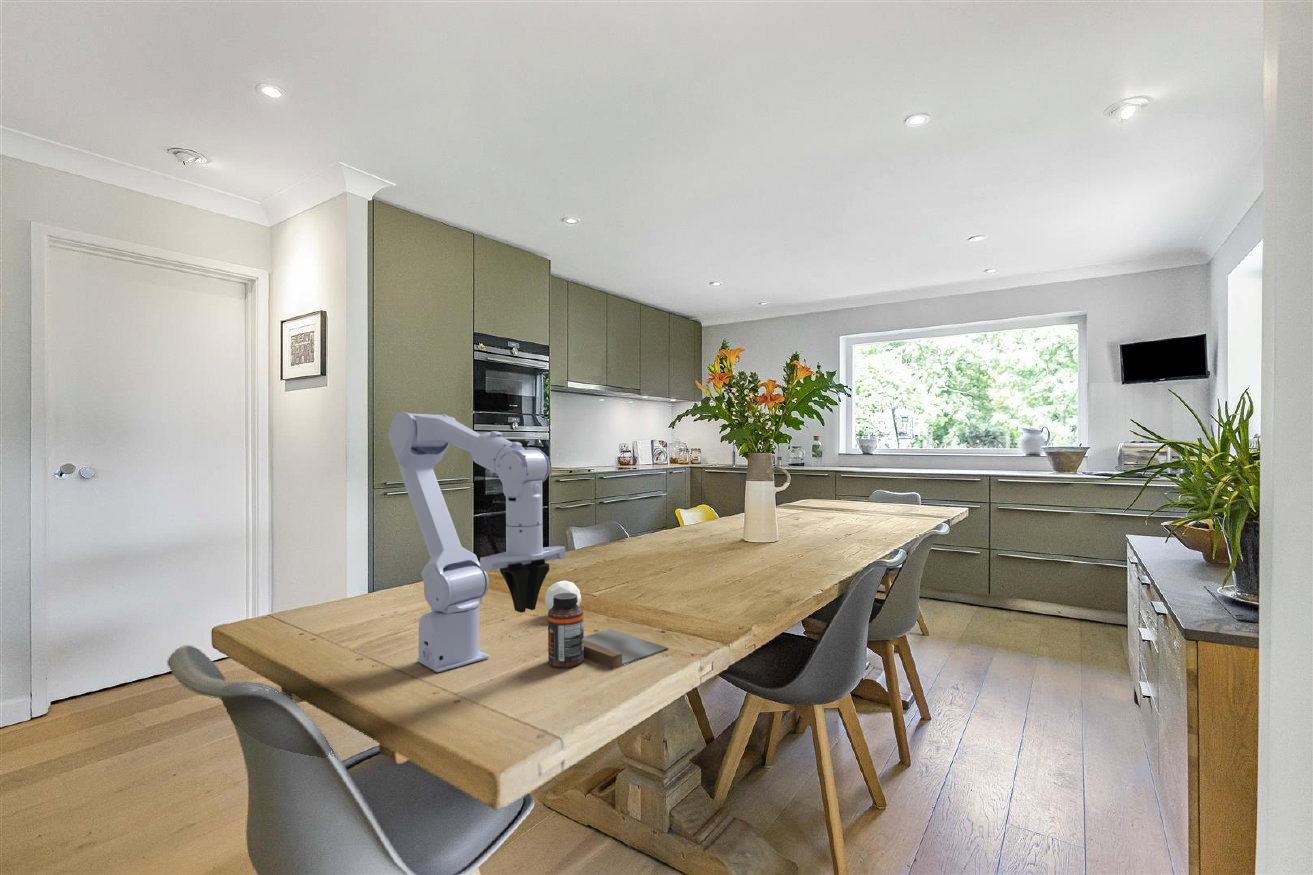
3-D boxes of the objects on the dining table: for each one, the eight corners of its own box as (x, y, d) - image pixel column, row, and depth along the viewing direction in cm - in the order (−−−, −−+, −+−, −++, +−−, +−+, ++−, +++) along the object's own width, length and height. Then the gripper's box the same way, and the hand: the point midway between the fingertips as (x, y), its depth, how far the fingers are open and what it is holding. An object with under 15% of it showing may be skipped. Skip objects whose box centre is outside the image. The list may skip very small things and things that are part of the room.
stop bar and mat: (612, 668, 97) (612, 656, 97) (555, 646, 109) (555, 635, 109) (668, 649, 106) (668, 638, 106) (610, 630, 118) (610, 620, 118)
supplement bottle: (545, 658, 102) (544, 592, 102) (579, 654, 104) (578, 589, 104) (551, 671, 97) (551, 601, 97) (587, 665, 99) (586, 597, 99)
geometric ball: (566, 632, 126) (561, 608, 121) (540, 613, 130) (534, 589, 125) (590, 608, 131) (586, 584, 126) (564, 591, 135) (560, 567, 130)
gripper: (496, 531, 87) (497, 624, 87) (576, 522, 97) (576, 605, 97) (473, 527, 92) (473, 615, 92) (551, 518, 102) (551, 598, 102)
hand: (525, 609), depth 95 cm, fingers closed
